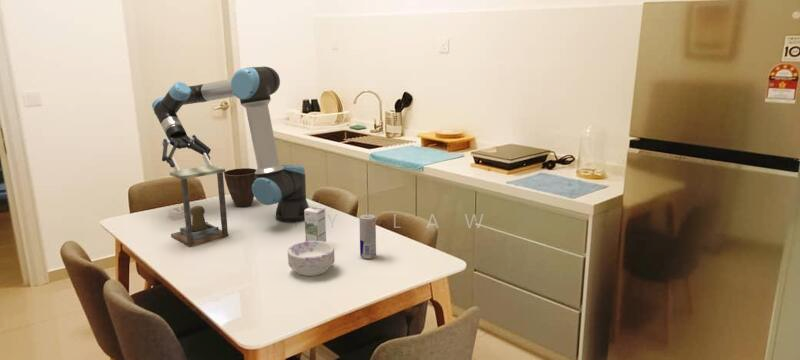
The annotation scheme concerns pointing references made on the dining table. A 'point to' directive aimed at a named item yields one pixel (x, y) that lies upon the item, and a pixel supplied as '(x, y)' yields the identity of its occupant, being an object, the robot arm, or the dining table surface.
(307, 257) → the paper bowls
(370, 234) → the beverage can
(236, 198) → the plant pot
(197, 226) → the cork
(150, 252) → the dining table surface
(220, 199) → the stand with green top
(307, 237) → the syrup box
